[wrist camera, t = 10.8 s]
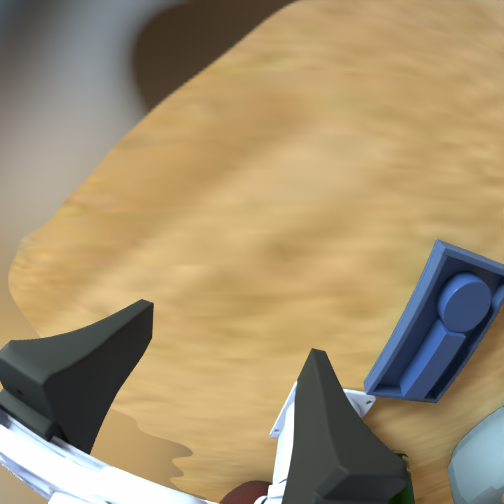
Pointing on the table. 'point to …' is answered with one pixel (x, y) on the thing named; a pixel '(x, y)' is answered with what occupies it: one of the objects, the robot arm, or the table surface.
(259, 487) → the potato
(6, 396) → the robot arm
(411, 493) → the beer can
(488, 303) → the blue spoon
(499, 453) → the alarm clock
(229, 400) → the table surface
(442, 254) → the blue tray
